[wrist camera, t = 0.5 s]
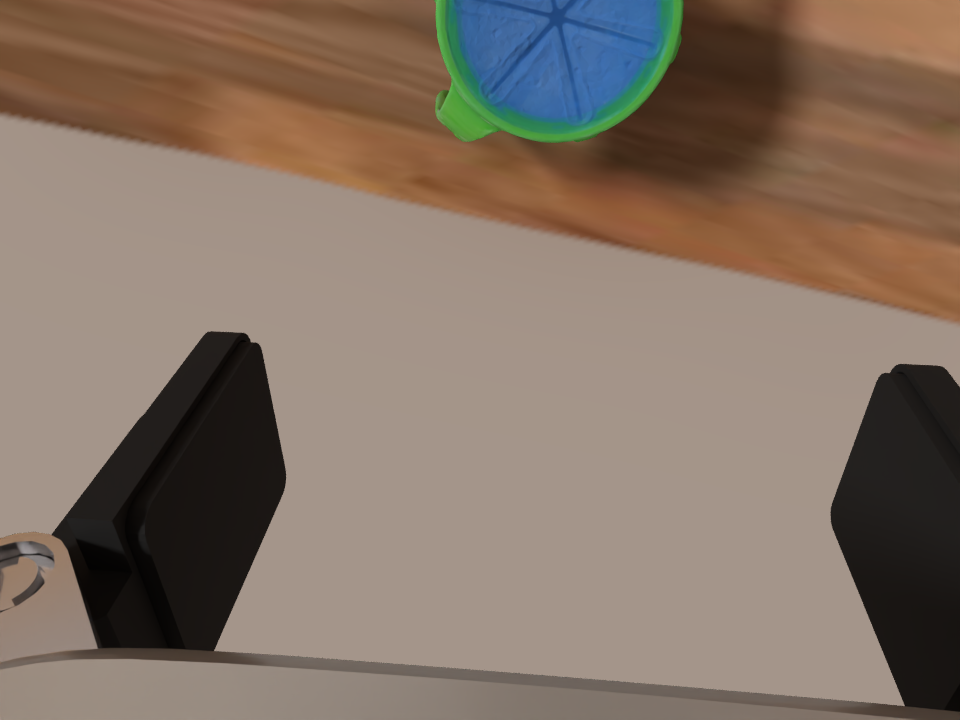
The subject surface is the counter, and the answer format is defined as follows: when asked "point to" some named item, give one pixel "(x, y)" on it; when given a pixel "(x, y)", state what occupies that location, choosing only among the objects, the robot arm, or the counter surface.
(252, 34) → the counter surface
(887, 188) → the counter surface
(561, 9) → the snack cup
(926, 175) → the counter surface
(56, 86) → the counter surface
